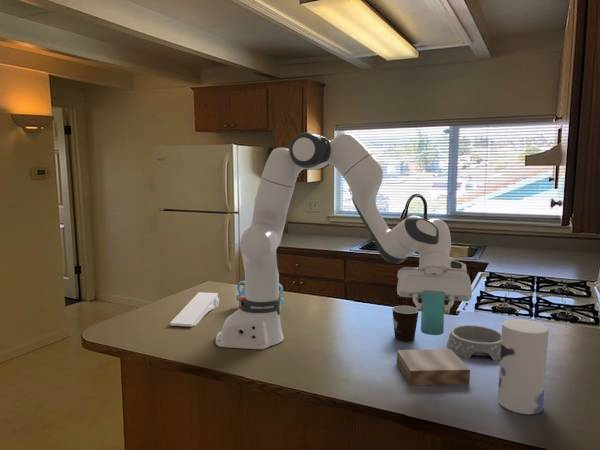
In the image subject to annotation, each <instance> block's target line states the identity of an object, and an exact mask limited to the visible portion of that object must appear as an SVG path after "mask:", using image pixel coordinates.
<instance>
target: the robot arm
mask: <svg viewBox="0 0 600 450" xmlns="http://www.w3.org/2000/svg"><path fill="white" fill-rule="evenodd" d="M330 165H331V166H333V167H334V168H335V169H336V170H337V171H338V172H339V174H340V175H341V176H342V178H343V179H344V180H345V182H346V183H347V185H348V187H349V190H350V192H351V199H352V203H353V206H354V207H355V210H356V211H357V213H358V215H359V216H360V218H361V220H362V221H363V223H364V225H365V227H366V228H367V230H368V232H369V234H370V235H371V237H372V239H373V240H374V241H373V242H374V243H375V245H376V247H377V248H376V249H377V251H378V252H379V255H380V256H381V257H382V258H383V259H384V260H385V261H387V262H388V263H391V264H396V265H398V264H401V263H403V262H404V261H405V260H407V259H408V258H409V257H410V256H412V255H413V254H414V253H418V254H419V260H418V261H419V264H418V267H412V266H411V267H408V266H404V267H402V268H400V269H398V270H397V274H396V275H397V285H396V291H397V295H398V296H399V297H401V298H412V301H413V303H414V304H415V308H416V311H419V312H421V311H422V302H419V299H422V291H424V290H429V291H442V292H444V293H445V300H444V301H448V304H444V314H448V315H449V314H450V313H451V312H450V311H451V308H452V307H453V305H454V304H455V301H457V302H470V300H471V299H472V297H473V296H472V294H473V292H472V291H473V290H472V289H473V288H472V283H471V278H470V275H469V273H467V272H468V270H467V264H466V263H463V262H461V261H457V260H454V259H452V258H451V256H450V253H451V250H452V249H451V248H452V238H451V237H452V236H451V232H450V228H449V226H448V224H447V223H446V222H445V221H443V220H442V219H439V218H429V219H426V218H425V217H422V216H418V215H414V214H413V215H409V216H408V217H406V218H405V219H403V220H402V221H400V222H399V223H397V225H396V226H394V227H393V228H389V226H388V224H387V223H386V221H385V219H384V217H383V216H382V214H381V212H380V210H379V209H378V207H377V195H378V192H379V190H380V188H381V185H382V182H383V180H384V179H383V178H384V171H383V168H382V165H381V164H380V162H379V161H378V159H377V158H376V157H375V155H374V154H373V153H372V152H371V151H370V150H369V148H368V147H366V145H365V144H364V143H363V142H362V141H360V140H359V139H358V138H357V137H356V136H355V135H353V133H350V132H343V133H340V134H338V135H337V136H335V137H334V138H332V139H328V138H326V137H324V136H323V135H321V134H320V133H319V134H318V133H314V132H310V131H308V132H307V131H306V132H302V133H299V134H297V135H295V136H294V137H293V138H292V140H291V141H290V144H289V148H287V147H276V148H274V149H273V150H272V151H271V152H270V154H269V156H268V158H267V160H266V163H265V165H264V166H263V167H264V168H263V170H262V174H261V178H260V181H259V185H258V188H257V191H256V196H255V199H254V207H253V214H252V219H251V224H250V226H249V227H248V228H247V229H245V230H244V231H243V233H242V235H241V238H240V242H239V246H240V251H241V258H242V264H243V269H244V281H245V284H244V285H245V297H244V296H239V301H238V302H239V303H238V306H239V308H238V309H237V310H235V311H234V312H233V313H232V314H230V315H229V316H228V317H227V318H226V319H225V321H224V322H223V326H222V330H221V331H218V332H217V335H216V337H215V344H216V346H218V347H219V348H231V349H232V348H234V349H249V350H250V349H251V350H266V349H267V348H269V347H272V346H274V345H277V344H280V343H281V342H283V341H284V339H285V336H284V334H283V330H282V329H283V328H282V323H281V317H280V316H281V315H280V314H281V309H282V308H281V305H282V304H281V302H282V301H281V300H280V297H279V293H280V287H279V284H280V281H279V280H280V279H279V277H280V273H279V269H278V259H277V258H278V257H277V249H278V247H279V246H280V244H281V241H282V237H283V235H284V234H283V233H284V230H285V225H286V220H287V215H288V212H289V208H290V204H291V201H292V196H293V193H294V191H295V186H296V182H297V179H298V176H299V174H300V173H301V172H302V171H303V170H304V171H309V170H310V171H311V170H312V171H316V170H319V171H320V170H323V169H326V168H327V167H328V166H330Z"/></svg>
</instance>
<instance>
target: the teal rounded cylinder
mask: <svg viewBox="0 0 600 450" xmlns="http://www.w3.org/2000/svg"><path fill="white" fill-rule="evenodd" d="M445 301H446V300H445V293H444V292H442V291H429V290H424V291H422V298H421V303H422V311H420V312H421V315H420V319H421V320H420V322H421V323H420V329H421V330H420V331H421V333H422V334H424V335H429V336H441V335H443V334H444V331H445V330H444V329H445V327H444V326H445V325H444V324H445V313H444V305H445Z"/></svg>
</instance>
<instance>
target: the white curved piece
mask: <svg viewBox="0 0 600 450" xmlns="http://www.w3.org/2000/svg"><path fill="white" fill-rule="evenodd" d="M218 296H219V293H218V292H203V291H199V292H197V294H196V295H195V296H194V297H193V298H192V299H191V300H189V302H188V303H187V304H186V305H185V306H184V307H183V308H182V309H181V311H179V313H178V314H177V315H176V316H175V317H174V318H173V319H172V320H171V321H170V323H169V326H175V327H177V326H178V327H189V328H190V327H195V326H196V325H197V324H199V322H200V321H201V320H202V319H203V318H204V317H205V316H206V315H207V314H208V313H209V312H210V311H212V310H214V309H216V308H218V307H219V304H220V299H219V297H218Z"/></svg>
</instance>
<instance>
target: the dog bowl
mask: <svg viewBox="0 0 600 450" xmlns="http://www.w3.org/2000/svg"><path fill="white" fill-rule="evenodd" d="M501 337H502V332H501V331H499V330H496V329H493V328H491V327H487V326H482V325H474V324H472V325H471V324H463V325H458V326H454V327H452V328H451V330H450V332H449V336H448V338H447V343H446V349H451V350H452V351H453V352H454V353H455V354H456V355H457V356H459V357H463V358H467V359H470V358H471V357H472V356H481V357H485V356H486V357H491V359H492V361H498V360H499V361H500V354H501Z"/></svg>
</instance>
